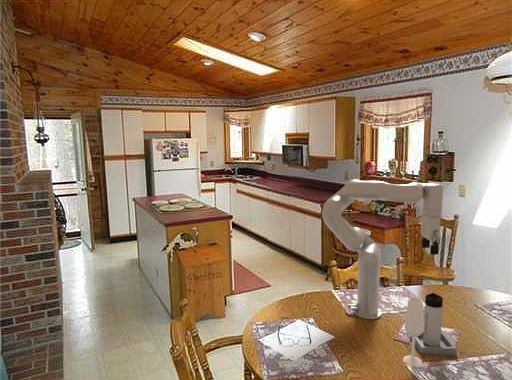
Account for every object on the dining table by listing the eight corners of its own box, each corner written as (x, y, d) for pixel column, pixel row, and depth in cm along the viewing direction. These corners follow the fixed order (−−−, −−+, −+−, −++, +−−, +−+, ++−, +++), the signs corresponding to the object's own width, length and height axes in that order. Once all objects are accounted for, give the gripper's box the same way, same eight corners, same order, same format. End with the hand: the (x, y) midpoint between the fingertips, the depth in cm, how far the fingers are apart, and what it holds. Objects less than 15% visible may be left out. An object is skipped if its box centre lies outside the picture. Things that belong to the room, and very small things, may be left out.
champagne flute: (408, 353, 148) (411, 294, 145) (425, 361, 143) (429, 299, 140) (399, 360, 144) (402, 299, 140) (416, 368, 139) (420, 305, 135)
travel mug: (439, 341, 155) (441, 293, 153) (441, 349, 149) (444, 300, 147) (422, 338, 158) (424, 292, 155) (423, 346, 151) (426, 298, 149)
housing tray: (421, 355, 147) (421, 347, 147) (409, 337, 160) (410, 330, 160) (456, 355, 146) (456, 348, 146) (441, 338, 159) (442, 331, 159)
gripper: (416, 208, 174) (414, 245, 177) (430, 216, 157) (428, 256, 160) (433, 208, 174) (430, 245, 176) (449, 216, 157) (447, 257, 159)
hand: (429, 250), depth 168 cm, fingers open, 9 cm apart
